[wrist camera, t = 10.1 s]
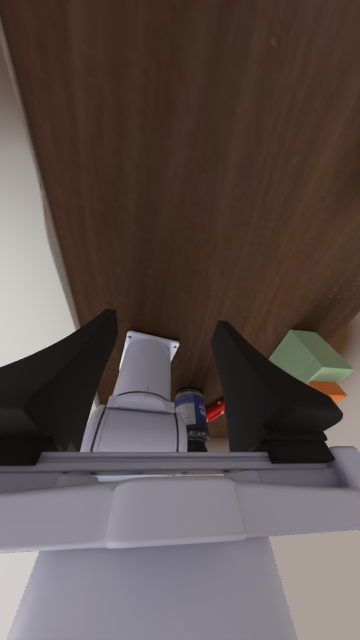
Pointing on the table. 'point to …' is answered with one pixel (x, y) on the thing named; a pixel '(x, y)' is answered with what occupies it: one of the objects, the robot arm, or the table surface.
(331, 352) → the green faceted block
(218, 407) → the red and blue stick
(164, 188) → the table surface
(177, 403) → the pill bottle
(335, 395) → the pad
